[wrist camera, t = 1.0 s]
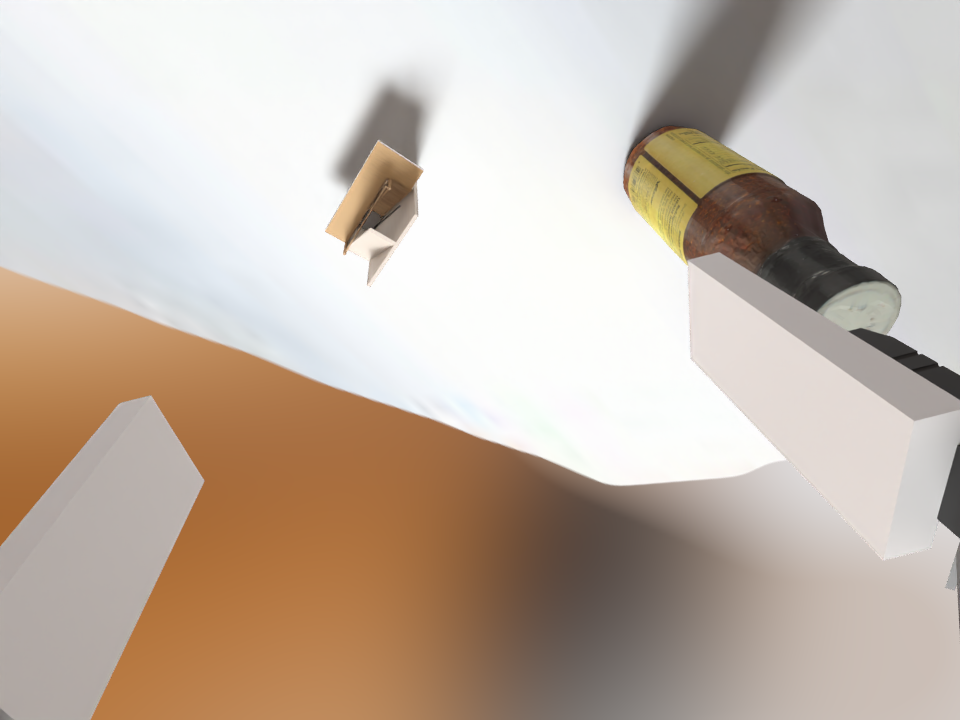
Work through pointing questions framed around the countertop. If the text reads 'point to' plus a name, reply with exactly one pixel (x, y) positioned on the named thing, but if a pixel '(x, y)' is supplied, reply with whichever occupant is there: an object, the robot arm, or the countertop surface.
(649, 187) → the sauce bottle
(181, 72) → the countertop surface
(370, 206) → the architectural model
